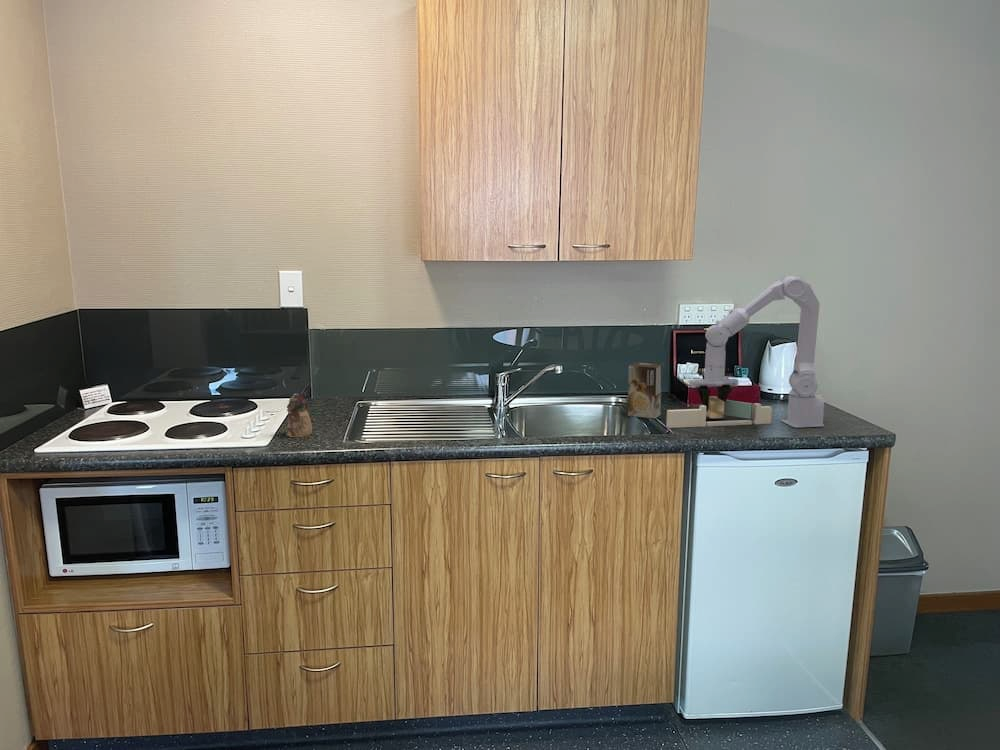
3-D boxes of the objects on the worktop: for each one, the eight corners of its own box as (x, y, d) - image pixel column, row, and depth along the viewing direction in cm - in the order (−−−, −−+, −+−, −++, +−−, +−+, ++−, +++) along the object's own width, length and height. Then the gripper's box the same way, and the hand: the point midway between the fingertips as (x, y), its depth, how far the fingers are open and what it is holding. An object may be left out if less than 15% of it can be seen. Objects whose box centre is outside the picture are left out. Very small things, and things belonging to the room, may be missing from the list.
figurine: (285, 432, 224) (283, 391, 221) (310, 430, 226) (308, 389, 224) (287, 438, 217) (285, 396, 215) (313, 436, 220) (311, 394, 217)
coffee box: (661, 414, 243) (663, 364, 240) (655, 419, 238) (657, 367, 234) (633, 411, 247) (634, 361, 244) (626, 416, 242) (628, 365, 239)
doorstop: (714, 412, 238) (715, 396, 237) (723, 418, 232) (724, 401, 231) (702, 412, 238) (703, 396, 237) (710, 418, 231) (711, 401, 230)
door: (754, 418, 232) (755, 403, 231) (753, 419, 231) (754, 404, 230) (707, 411, 241) (708, 397, 240) (706, 411, 240) (706, 397, 239)
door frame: (768, 422, 234) (769, 402, 232) (771, 423, 232) (772, 404, 231) (666, 426, 229) (666, 406, 228) (668, 428, 227) (669, 408, 226)
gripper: (697, 368, 227) (695, 414, 230) (744, 367, 229) (741, 412, 232) (687, 364, 234) (685, 408, 236) (733, 363, 236) (731, 406, 239)
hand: (712, 410), depth 235 cm, fingers closed on doorstop, 4 cm apart
